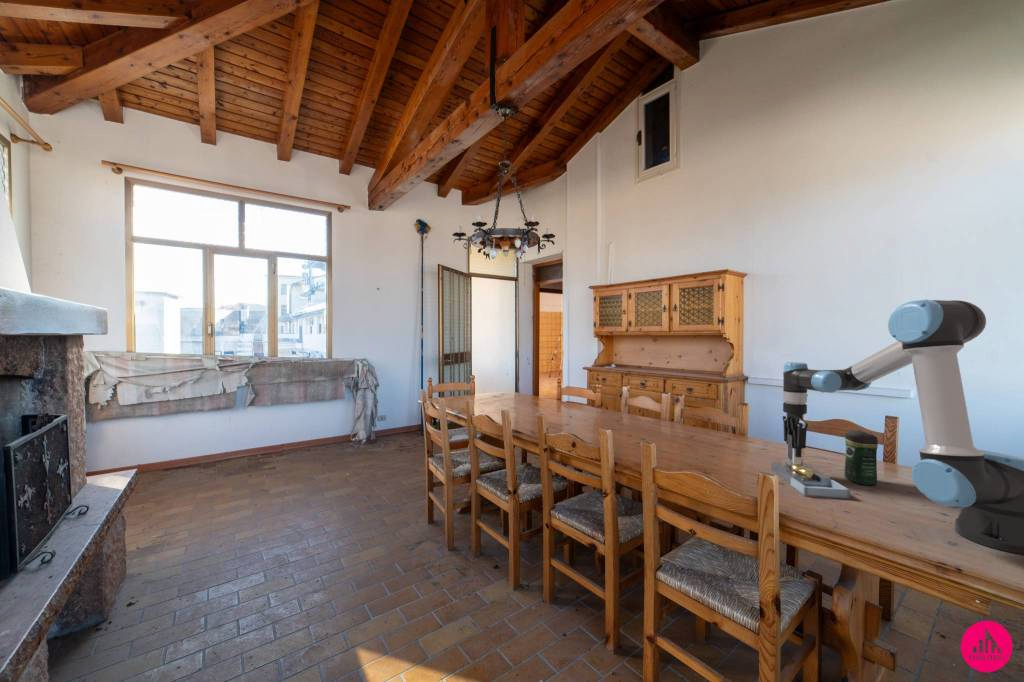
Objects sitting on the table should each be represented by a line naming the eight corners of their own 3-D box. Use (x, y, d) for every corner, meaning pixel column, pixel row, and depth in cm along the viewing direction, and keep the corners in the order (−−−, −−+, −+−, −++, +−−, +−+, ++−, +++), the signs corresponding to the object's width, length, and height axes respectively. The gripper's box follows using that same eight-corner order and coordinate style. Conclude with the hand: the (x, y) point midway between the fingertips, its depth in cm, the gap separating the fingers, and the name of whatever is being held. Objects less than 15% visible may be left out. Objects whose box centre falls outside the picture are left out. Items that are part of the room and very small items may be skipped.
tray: (849, 498, 134) (850, 489, 134) (804, 496, 136) (804, 487, 136) (832, 488, 142) (832, 479, 142) (790, 486, 145) (790, 477, 145)
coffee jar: (881, 487, 144) (883, 435, 143) (856, 485, 145) (857, 434, 145) (864, 477, 153) (865, 428, 152) (840, 475, 155) (841, 427, 154)
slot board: (830, 488, 143) (830, 478, 142) (793, 486, 145) (793, 476, 144) (805, 472, 158) (805, 463, 158) (771, 470, 160) (771, 462, 160)
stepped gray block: (802, 470, 153) (803, 436, 153) (789, 469, 154) (790, 435, 154) (798, 467, 157) (798, 434, 156) (785, 466, 157) (786, 433, 157)
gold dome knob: (816, 480, 145) (816, 471, 145) (803, 479, 146) (804, 471, 145) (809, 476, 149) (809, 468, 149) (797, 475, 149) (798, 467, 149)
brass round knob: (806, 476, 149) (807, 468, 149) (794, 475, 150) (795, 467, 149) (800, 472, 153) (801, 464, 153) (789, 471, 153) (789, 463, 153)
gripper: (818, 406, 146) (817, 471, 147) (794, 399, 162) (793, 457, 163) (795, 406, 147) (794, 470, 148) (774, 398, 163) (773, 456, 164)
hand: (794, 463), depth 155 cm, fingers closed on stepped gray block, 3 cm apart
